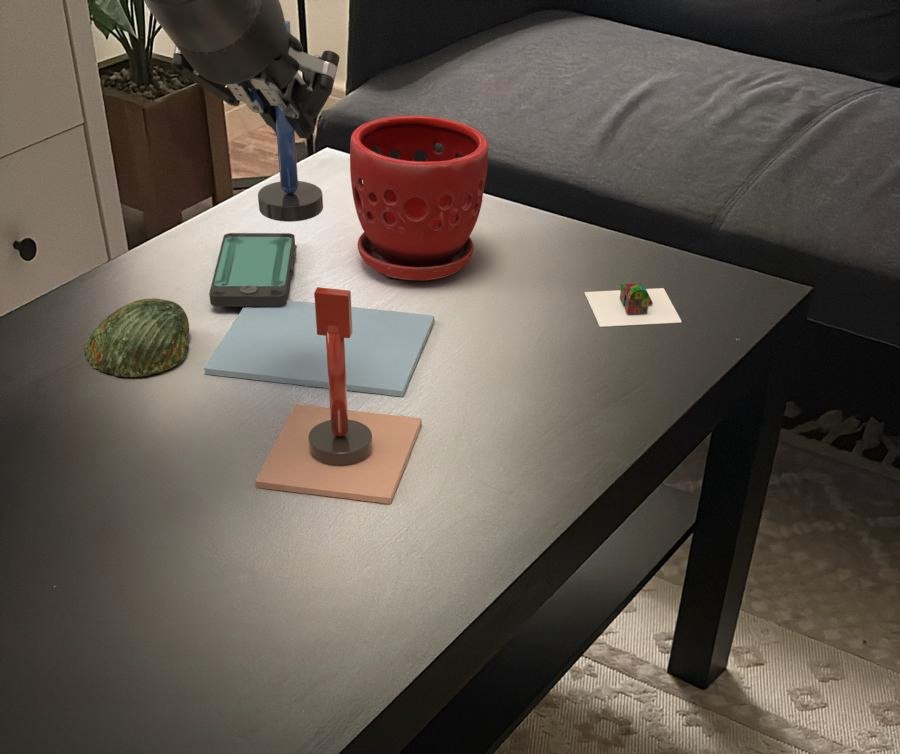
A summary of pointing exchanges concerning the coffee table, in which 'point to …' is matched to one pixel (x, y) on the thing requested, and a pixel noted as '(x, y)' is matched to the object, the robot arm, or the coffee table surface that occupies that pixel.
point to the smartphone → (253, 269)
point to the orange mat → (358, 481)
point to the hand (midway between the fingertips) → (296, 124)
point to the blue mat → (322, 348)
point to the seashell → (140, 339)
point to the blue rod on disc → (289, 180)
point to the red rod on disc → (337, 386)
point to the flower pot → (417, 194)
